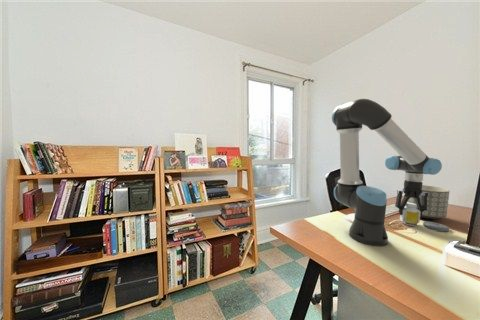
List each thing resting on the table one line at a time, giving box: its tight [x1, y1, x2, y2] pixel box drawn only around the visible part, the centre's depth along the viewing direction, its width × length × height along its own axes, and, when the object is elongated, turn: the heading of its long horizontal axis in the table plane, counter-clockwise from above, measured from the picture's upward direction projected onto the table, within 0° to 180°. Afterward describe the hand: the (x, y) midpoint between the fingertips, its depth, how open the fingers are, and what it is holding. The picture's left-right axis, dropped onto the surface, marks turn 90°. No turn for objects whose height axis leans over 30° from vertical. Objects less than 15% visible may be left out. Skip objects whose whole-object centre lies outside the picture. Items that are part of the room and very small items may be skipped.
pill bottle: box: [401, 202, 418, 227], centre depth 109 cm, size 6×6×12 cm
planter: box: [405, 184, 450, 220], centre depth 121 cm, size 19×19×18 cm
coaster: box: [422, 221, 451, 233], centre depth 105 cm, size 10×10×2 cm
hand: (409, 221), depth 110 cm, fingers closed on pill bottle, 6 cm apart
